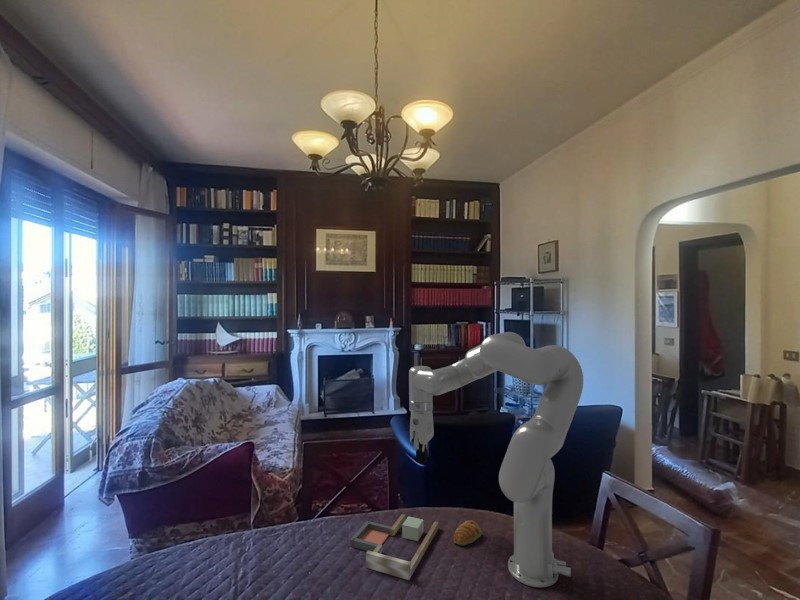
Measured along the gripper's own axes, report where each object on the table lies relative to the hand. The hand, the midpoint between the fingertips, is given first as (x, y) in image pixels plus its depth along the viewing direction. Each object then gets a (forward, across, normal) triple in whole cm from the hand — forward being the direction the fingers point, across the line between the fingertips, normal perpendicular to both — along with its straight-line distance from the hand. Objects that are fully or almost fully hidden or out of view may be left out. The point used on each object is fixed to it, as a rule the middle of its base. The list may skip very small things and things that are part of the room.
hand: (421, 462), depth 130 cm
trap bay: (+19, -15, +10) cm, 26 cm away
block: (+19, -8, 0) cm, 21 cm away
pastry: (+20, -3, -16) cm, 25 cm away
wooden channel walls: (+19, -14, 0) cm, 24 cm away
